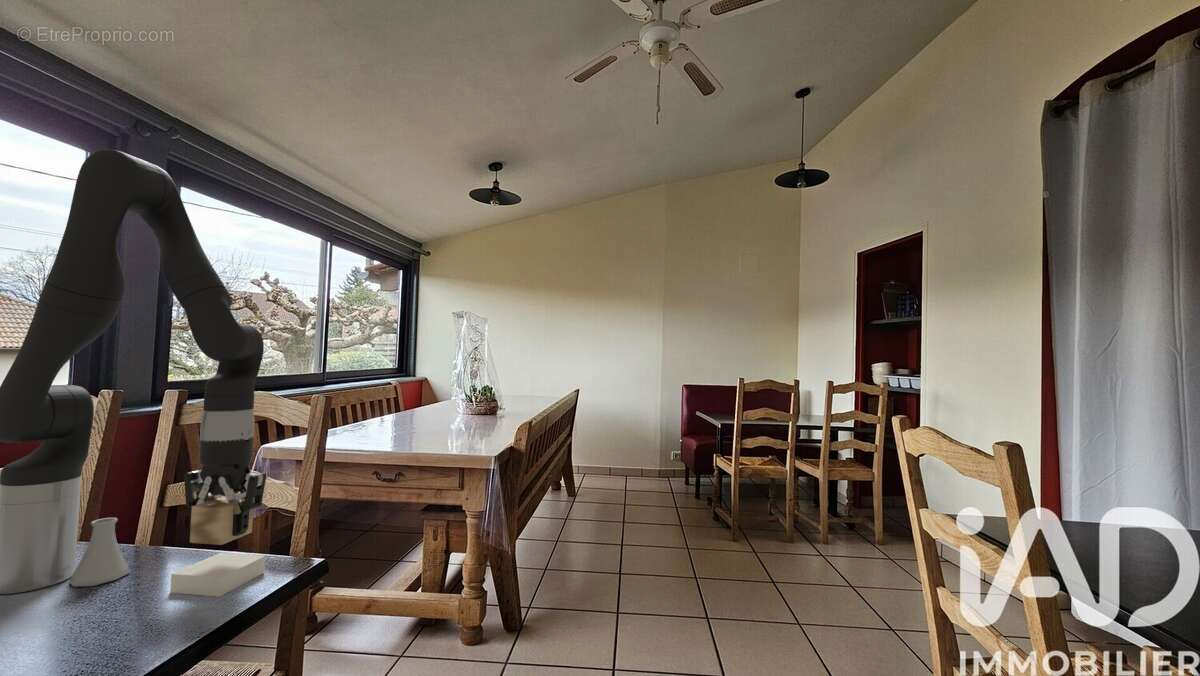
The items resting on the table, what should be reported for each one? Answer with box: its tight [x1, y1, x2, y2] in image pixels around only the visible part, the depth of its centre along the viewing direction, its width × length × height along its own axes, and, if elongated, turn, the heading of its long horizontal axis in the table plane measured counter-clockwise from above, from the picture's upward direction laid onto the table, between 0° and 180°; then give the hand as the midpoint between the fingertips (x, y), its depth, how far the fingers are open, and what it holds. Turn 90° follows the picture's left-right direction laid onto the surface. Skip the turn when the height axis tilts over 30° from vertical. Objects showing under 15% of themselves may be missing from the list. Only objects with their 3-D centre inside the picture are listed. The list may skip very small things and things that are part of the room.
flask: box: [68, 517, 131, 588], centre depth 84 cm, size 7×7×10 cm
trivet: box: [169, 552, 266, 598], centre depth 83 cm, size 9×9×3 cm
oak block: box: [189, 496, 254, 546], centre depth 84 cm, size 6×6×6 cm
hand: (222, 533), depth 84 cm, fingers closed on oak block, 6 cm apart
